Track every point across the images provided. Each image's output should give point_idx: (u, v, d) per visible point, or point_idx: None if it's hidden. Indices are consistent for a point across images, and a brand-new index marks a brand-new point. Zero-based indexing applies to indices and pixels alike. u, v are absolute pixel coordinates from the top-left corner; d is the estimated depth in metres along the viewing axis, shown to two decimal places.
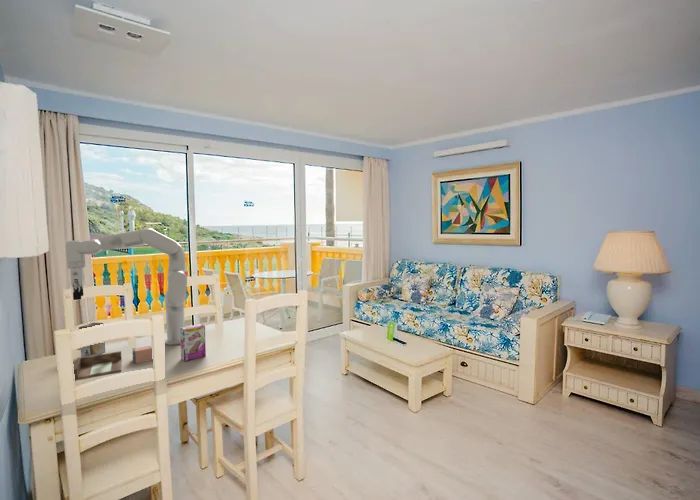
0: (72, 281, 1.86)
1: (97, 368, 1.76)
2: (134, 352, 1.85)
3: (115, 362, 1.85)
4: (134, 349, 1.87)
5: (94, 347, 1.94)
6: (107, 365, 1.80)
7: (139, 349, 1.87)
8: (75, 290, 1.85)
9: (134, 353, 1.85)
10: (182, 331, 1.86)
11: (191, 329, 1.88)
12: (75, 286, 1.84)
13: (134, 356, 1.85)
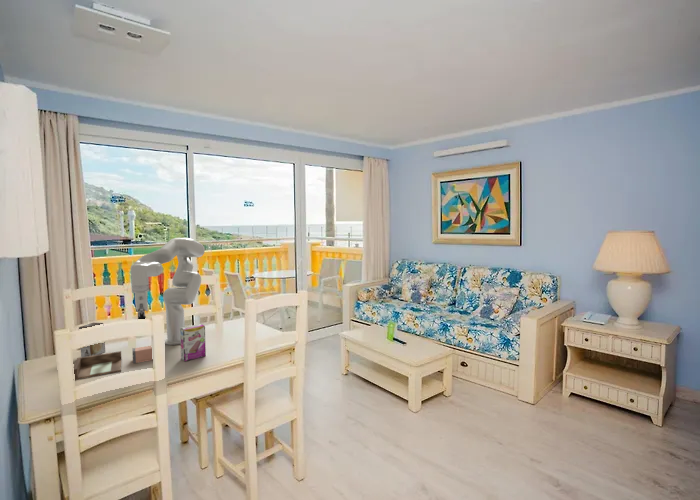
0: (137, 306, 1.82)
1: (97, 368, 1.76)
2: (134, 352, 1.85)
3: (115, 362, 1.85)
4: (134, 349, 1.87)
5: (94, 347, 1.94)
6: (107, 365, 1.80)
7: (139, 349, 1.87)
8: (141, 315, 1.81)
9: (134, 353, 1.85)
10: (182, 331, 1.86)
11: (191, 329, 1.88)
12: (141, 311, 1.80)
13: (134, 356, 1.85)
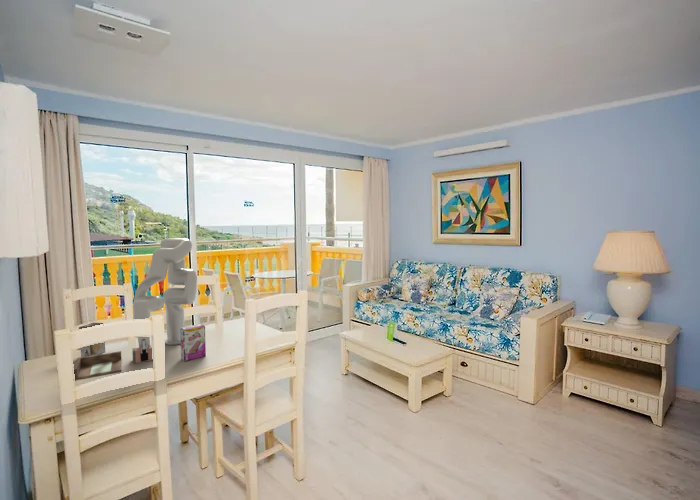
0: (140, 344, 1.84)
1: (97, 368, 1.76)
2: (134, 352, 1.85)
3: (115, 362, 1.85)
4: (134, 349, 1.87)
5: (94, 347, 1.94)
6: (107, 365, 1.80)
7: (139, 349, 1.87)
8: (143, 352, 1.85)
9: (134, 353, 1.85)
10: (182, 331, 1.86)
11: (191, 329, 1.88)
12: (144, 350, 1.83)
13: (134, 356, 1.85)
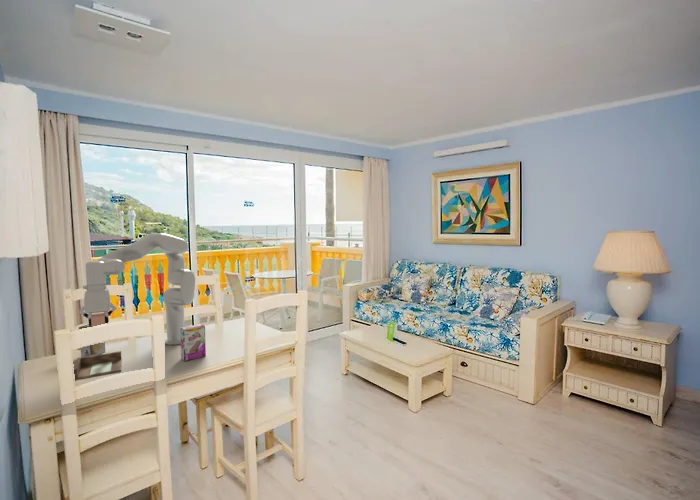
0: None
1: (97, 368, 1.76)
2: None
3: (115, 362, 1.85)
4: (99, 312, 1.78)
5: (94, 347, 1.94)
6: (107, 365, 1.80)
7: (96, 313, 1.76)
8: None
9: None
10: (182, 331, 1.86)
11: (191, 329, 1.88)
12: None
13: None
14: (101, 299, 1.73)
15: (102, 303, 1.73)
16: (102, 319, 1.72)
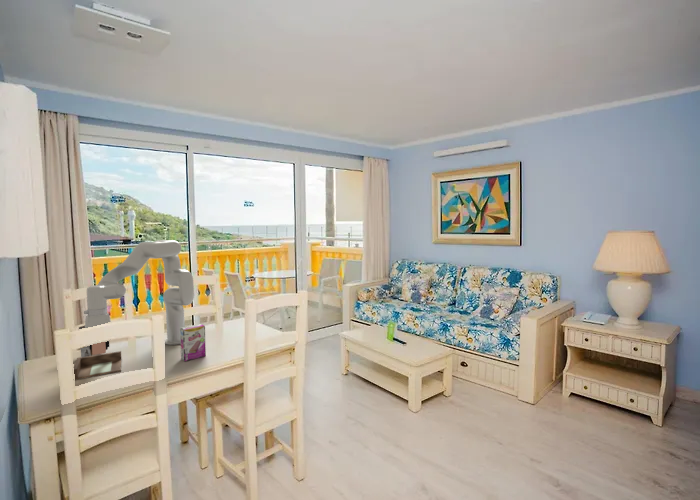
0: None
1: (97, 368, 1.76)
2: None
3: (115, 362, 1.85)
4: None
5: None
6: (107, 365, 1.80)
7: None
8: None
9: None
10: (182, 331, 1.86)
11: (191, 329, 1.88)
12: None
13: None
14: None
15: None
16: (103, 344, 1.72)
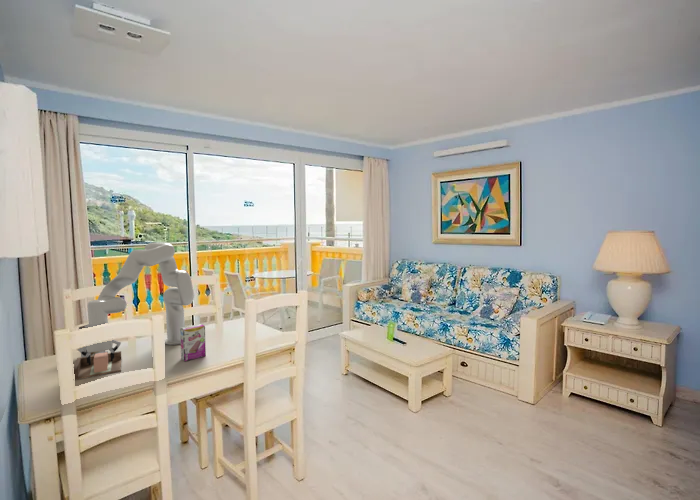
0: None
1: None
2: (95, 354, 1.79)
3: (115, 362, 1.85)
4: (102, 352, 1.80)
5: None
6: None
7: (98, 354, 1.78)
8: None
9: (95, 355, 1.79)
10: (182, 331, 1.86)
11: (191, 329, 1.88)
12: None
13: None
14: None
15: (104, 342, 1.74)
16: (104, 361, 1.73)
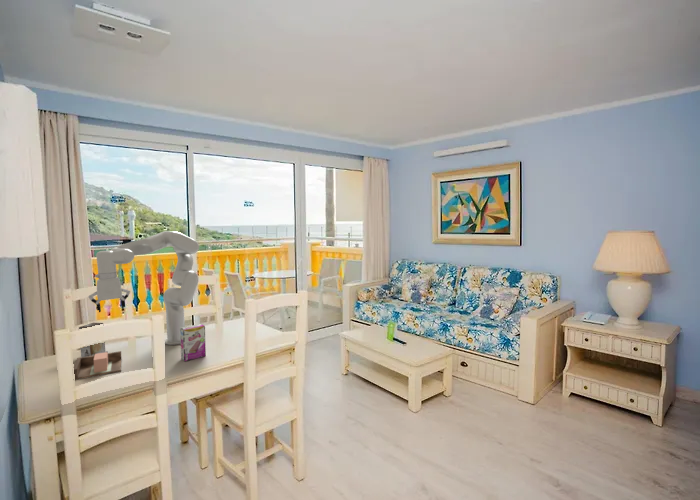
0: None
1: None
2: (95, 354, 1.79)
3: (115, 362, 1.85)
4: (102, 352, 1.80)
5: (94, 347, 1.94)
6: None
7: (98, 354, 1.78)
8: None
9: (95, 355, 1.79)
10: (182, 331, 1.86)
11: (191, 329, 1.88)
12: None
13: None
14: (113, 287, 1.82)
15: (114, 290, 1.82)
16: (104, 361, 1.73)
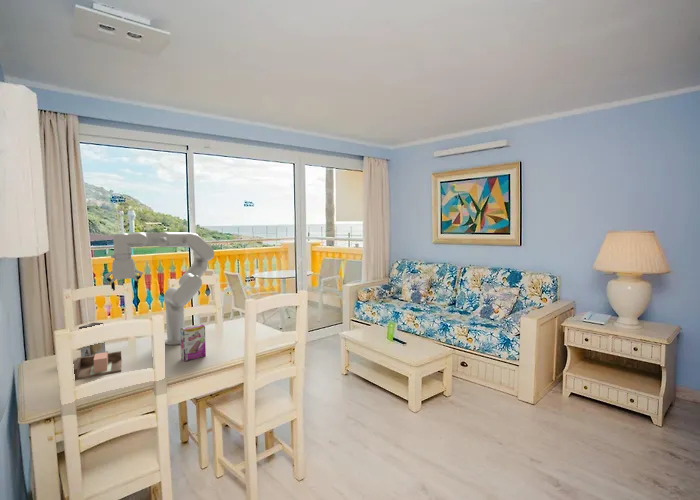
0: None
1: None
2: (95, 354, 1.79)
3: (115, 362, 1.85)
4: (102, 352, 1.80)
5: (94, 347, 1.94)
6: None
7: (98, 354, 1.78)
8: (108, 280, 1.93)
9: (95, 355, 1.79)
10: (182, 331, 1.86)
11: (191, 329, 1.88)
12: (105, 276, 1.92)
13: None
14: (127, 267, 1.94)
15: (128, 271, 1.94)
16: (104, 361, 1.73)
